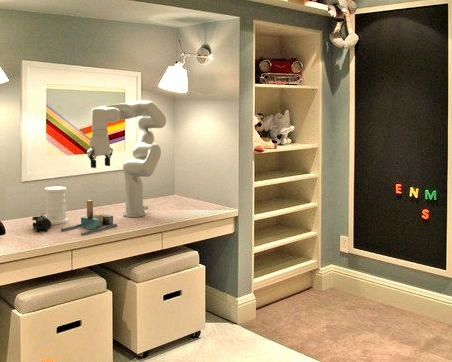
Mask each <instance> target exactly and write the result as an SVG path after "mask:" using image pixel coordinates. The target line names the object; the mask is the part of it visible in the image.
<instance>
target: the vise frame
mask: <svg viewBox="0 0 452 362" xmlns="http://www.w3.org/2000/svg"><path fill="white" fill-rule="evenodd" d="M101 214H102V215H103V227H100V228H96V229H89V230H86V231H85V230H84V231H82V232H80V235H81V236H86V235H89V234H93V233H97V232H101V231H104V230H108V229H112V228H115V227H118V224H117V223H114V215H110V214H104V213H101ZM77 228H82V227H81V223H78V224H74V225H70V226H65V227H61V228H60V231H61V232H65V231H70V230H74V229H77Z"/></svg>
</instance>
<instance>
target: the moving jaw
mask: <svg viewBox="0 0 452 362" xmlns="http://www.w3.org/2000/svg"><path fill="white" fill-rule="evenodd" d="M93 214H94V200H93V199H87V200H86V215H84V216H81V217H80V224H81V227H80V228H84V229H89V230H92V229H96V228H100V219H97V218H93Z"/></svg>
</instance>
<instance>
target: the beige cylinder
mask: <svg viewBox="0 0 452 362" xmlns="http://www.w3.org/2000/svg"><path fill="white" fill-rule="evenodd" d="M102 214H103V213H93V218H97V219H100V227H104V226H103V215H102Z"/></svg>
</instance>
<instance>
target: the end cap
mask: <svg viewBox="0 0 452 362" xmlns="http://www.w3.org/2000/svg"><path fill="white" fill-rule="evenodd" d="M31 221H35V222H32V227H33V228H32V230H33V231H34V232H35V233H45V232H47V231H48V230H50V229H51V226H52V224H51V222H50V220H49V219H48V218H47V215H44V214H40V215H38V216H32V220H31Z"/></svg>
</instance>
